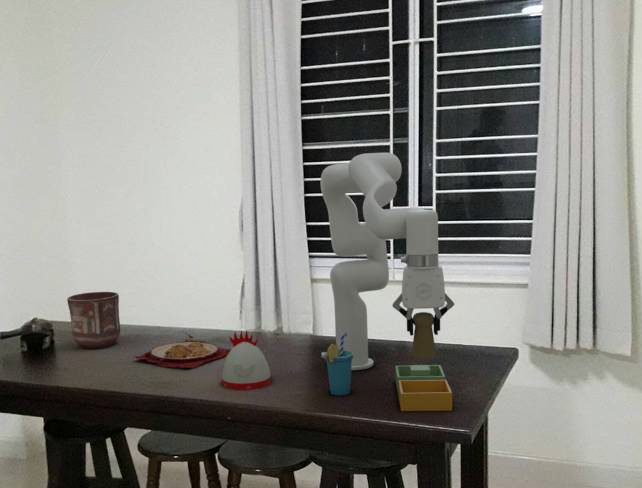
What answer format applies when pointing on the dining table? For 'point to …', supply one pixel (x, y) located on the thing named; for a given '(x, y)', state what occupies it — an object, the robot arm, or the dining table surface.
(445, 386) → the ochre bin
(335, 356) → the cup
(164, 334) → the dining table surface
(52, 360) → the dining table surface
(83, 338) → the pottery
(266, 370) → the kitchen timer
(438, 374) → the green bin
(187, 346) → the plate with food
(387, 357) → the dining table surface
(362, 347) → the robot arm
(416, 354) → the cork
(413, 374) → the green block
